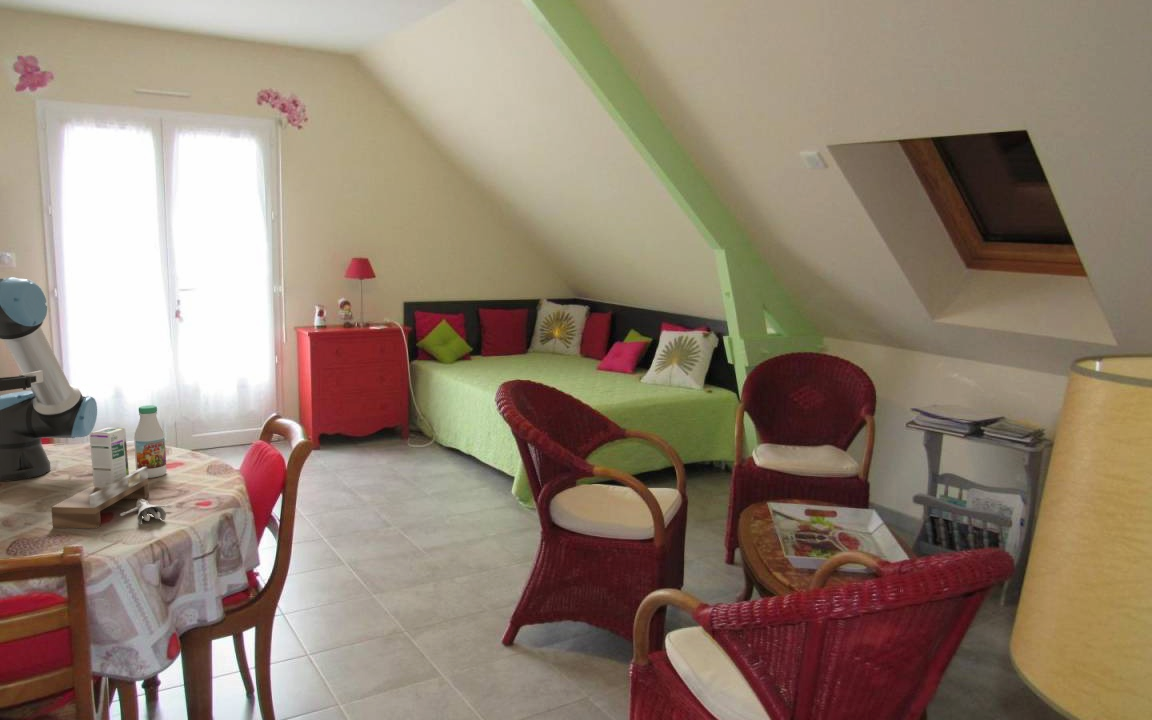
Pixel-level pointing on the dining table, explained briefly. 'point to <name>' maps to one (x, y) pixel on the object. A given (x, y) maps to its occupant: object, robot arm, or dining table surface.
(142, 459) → the milk bottle
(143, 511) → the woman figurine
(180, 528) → the dining table surface
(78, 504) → the shelf
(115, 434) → the syrup box
